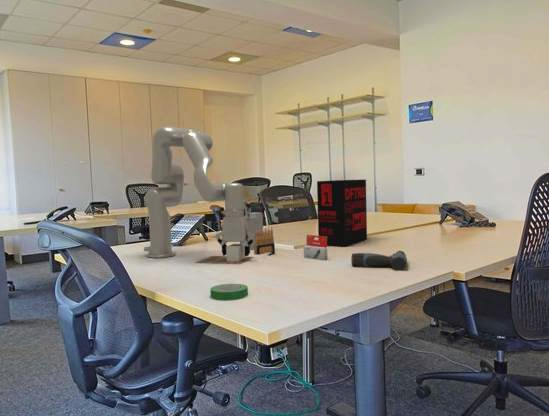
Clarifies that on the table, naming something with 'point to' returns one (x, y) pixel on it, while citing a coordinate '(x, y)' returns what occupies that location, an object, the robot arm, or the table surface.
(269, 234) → the ammunition clip
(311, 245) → the ink cartridge box
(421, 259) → the table surface
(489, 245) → the table surface
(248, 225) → the fuel canister
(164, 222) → the robot arm
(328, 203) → the product box
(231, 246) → the grey block
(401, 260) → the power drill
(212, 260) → the board
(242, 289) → the tape roll
